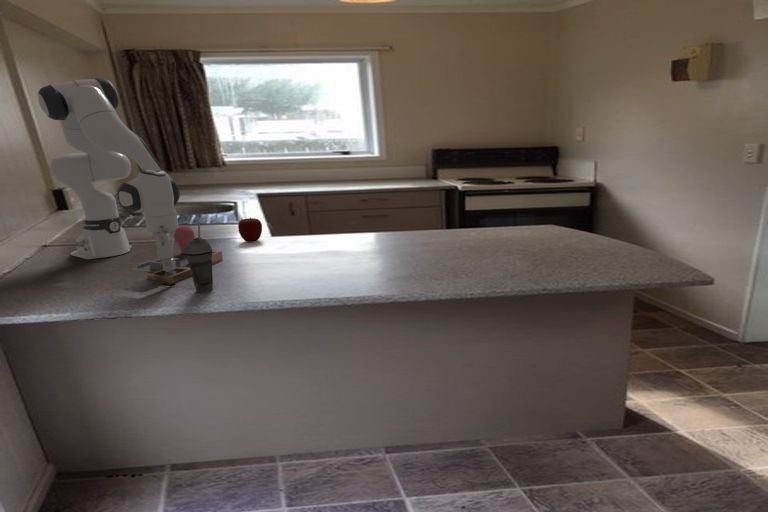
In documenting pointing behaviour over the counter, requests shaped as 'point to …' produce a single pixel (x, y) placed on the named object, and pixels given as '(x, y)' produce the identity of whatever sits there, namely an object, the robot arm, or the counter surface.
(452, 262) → the counter surface
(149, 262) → the cradle
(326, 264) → the counter surface
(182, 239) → the light bulb
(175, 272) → the cell
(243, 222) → the apple
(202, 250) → the beverage cup
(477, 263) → the counter surface
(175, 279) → the tray
